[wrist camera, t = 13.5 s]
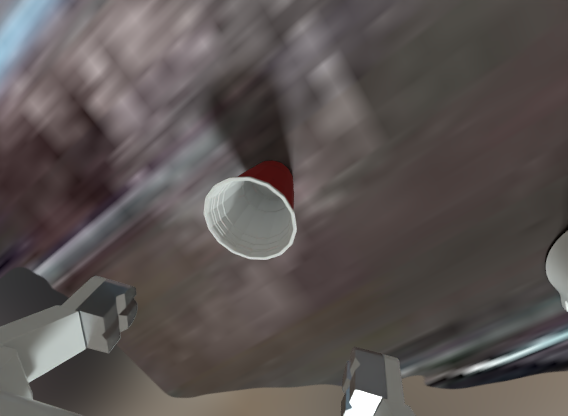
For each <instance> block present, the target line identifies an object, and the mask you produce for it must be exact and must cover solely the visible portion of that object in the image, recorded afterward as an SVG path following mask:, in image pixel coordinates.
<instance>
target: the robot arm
mask: <svg viewBox="0 0 568 416" xmlns="http://www.w3.org/2000/svg"><path fill="white" fill-rule="evenodd" d="M546 274H547V277H548V279H549V281H550V282H551V284H552V285H553V286H554V287H555V288H556V289H557V291H558V292H559V293H560V296H561V303H562V306H563V308H564V309H565V310H566V311H567V312H568V231H567V232H565V233H564V234H563V235H562V236H561V237H560V238H559V239H558V240H557V241H556V242H555V244H554V245H553V247H552V248H551V250H550V252H549V254H548V257H547V260H546ZM135 295H136V288H135V287H133V286H129V285H126V284H123V283H120V282H116V281H113V280H110V279H106V278H103V277H99V276H95V277H92V278H91V279H90V280H88V281H87V282H86V283H85V284H84V285H83V286H82V287H81V288H80V289H79V290H78V291H77V292H76V293H74V294H73V295H72V296H71V297H70V298H69V299H68V300H67V301H66V302H65V303H64V304H63V305H62V306H58V305H56V306H54V307H51V308H49V309H46V310H43V311H41V312H38V313H35V314H33V315H30V316H27V317H25V318H22V319H20V320H17V321H14V322H12V323H9V324H6V325H4V326H1V327H0V416H83V415H80V414H77V413H73V412H70V411H67V410H64V409H61V408H58V407H55V406H51V405H48V404H45V403H42V402H39V401H36V400H32V399H33V394H32V391H31V388H30V385H29V382H31V381H32V380H34V379H36V378H37V377H39V376H41V375H43V374H44V373H46V372H47V371H49V370H51V369H53V368H54V367H56V366H58V365H59V364H61V363H63V362H65V361H66V360H68V359H69V358H71V357H73V356H75V355H76V354H78V353H80V352H81V351H83V350H85V349H86V347H87V348H90V349H94V350H98V351H102V352H106V353H109V352H110V351H111V350H112V348H113V347H114V346H115V344H116V343H117V342H118V341H119V339H120V332H121V331H123V330H125V329H127V328H129V326H130V325H131V324H132V322H133V320H134V318H135V316H136V313H137V302H136V301H135V300H134V297H135ZM342 390H343V392H344V394H345V395H344V397H343V400H342V402H341V416H416V415H415V414H414V412H413V411H412V410H411V408H410V406H408V405H405V404H404V403H405V402H404V394H403V387H402V379H401V371H400V364H399V360H398V358H394V357H391V356H387V355H382V354H381V353H377V352H373V351H369V350H365V349H361V348H357V347H354V348H353V349H352V351H351V356H350V360H349V361H347V364H346V366H345V370H344V374H343V382H342Z"/></svg>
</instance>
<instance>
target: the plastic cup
mask: <svg viewBox="0 0 568 416" xmlns="http://www.w3.org/2000/svg"><path fill="white" fill-rule="evenodd" d="M293 206H294V190H293V177H292V174H291V173H290V171H289V169H288V168H287V167H286V166H285V165H283V164H282V163H280V162H277V161H264V162H262V163H260V164H258V165H256V166H255V167H253V168H251V169H249V170H247V171H246V172H244V173H243V174H241V175H239V176H238V177H231V178H228V179H226V180H224V181H222V182H220V183H218V184H216V185H214V187H213V188H212V189H211V191H210V192H209V194H208V195H207V196H206V198H205V206H204V216H205V219H206V223H207V226H208V229H209V230H210V232H211V233H212V234H213V236H214V237H215V238H216V240H217V241H218V242H219V243H220V244H221V245H223V246H224V247H225V248H227V249H228V250H230V251H231V252H232V253H234V254H237V255H240V256H243V257H245V258H248V259H261V260H267V259H270V258H273V257H276V256H279V255H281V254H283V253H284V252H285V251H286V250H287V249H288V248H289V247H290V246H291V245H292V243H293V240H294V237H295V234H296V231H297V227H296V220H295V213H294V210H293Z"/></svg>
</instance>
